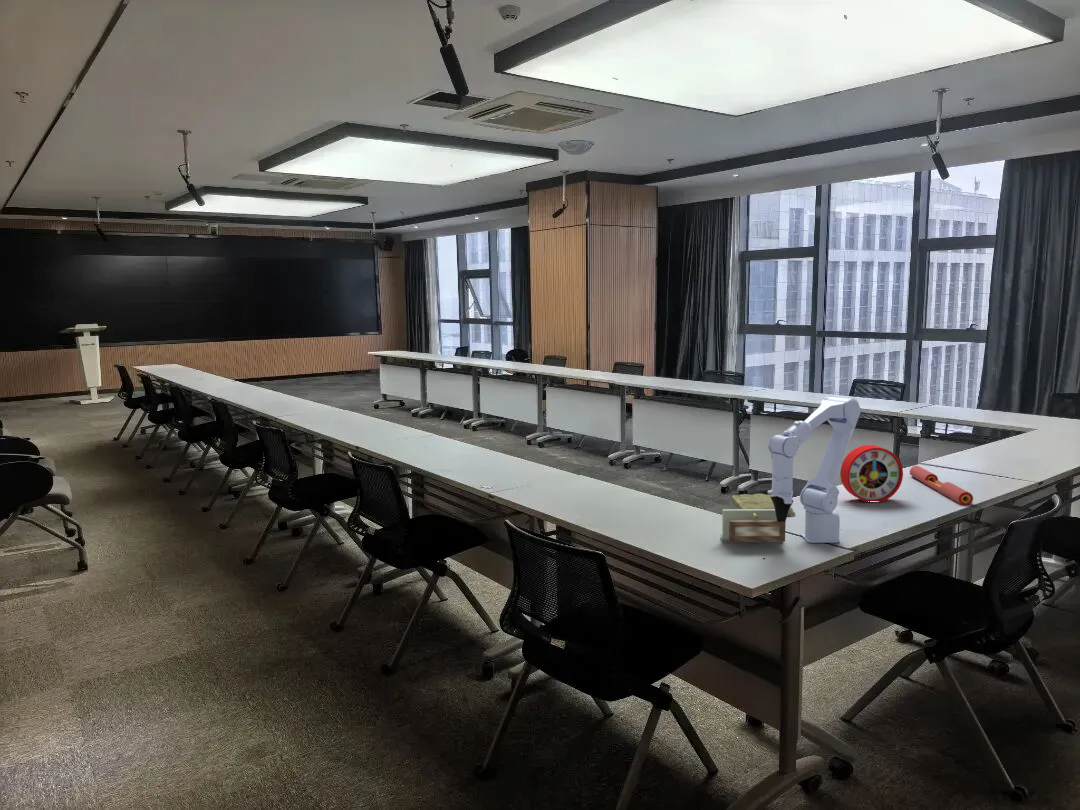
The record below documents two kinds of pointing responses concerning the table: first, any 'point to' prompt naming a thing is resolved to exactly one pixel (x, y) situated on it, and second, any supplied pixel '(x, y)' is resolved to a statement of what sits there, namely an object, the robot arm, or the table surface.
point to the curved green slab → (743, 518)
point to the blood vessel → (942, 486)
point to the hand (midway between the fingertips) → (781, 521)
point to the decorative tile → (755, 502)
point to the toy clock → (871, 473)
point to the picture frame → (757, 530)
